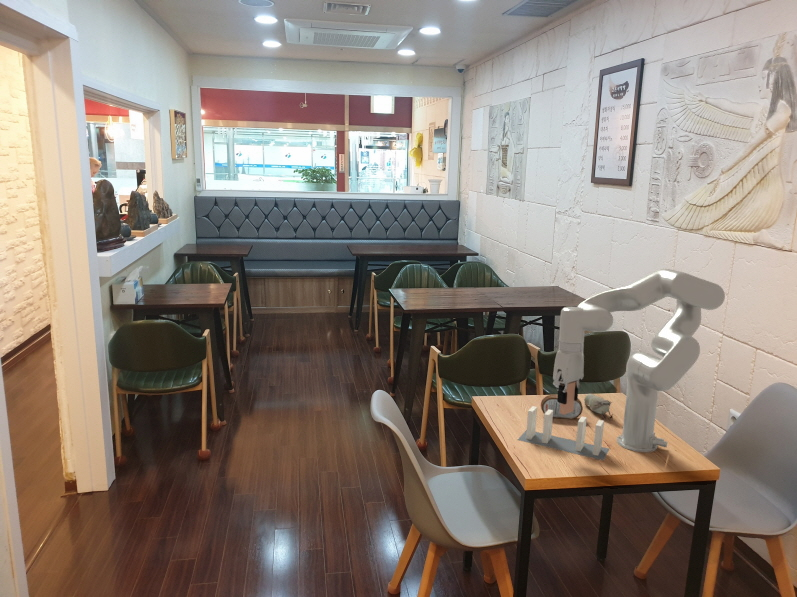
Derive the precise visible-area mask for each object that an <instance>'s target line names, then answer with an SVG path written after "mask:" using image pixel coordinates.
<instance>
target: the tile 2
mask: <svg viewBox="0 0 797 597" xmlns="http://www.w3.org/2000/svg"><path fill="white" fill-rule="evenodd" d="M553 419H554V418H553V410H549V409H548V411H547V412H546V413H545V414H544V413H543V428H542V433H543V437H542V443H546V444H547V443H548V441H549V440H550V439H551V435H552V430H553Z"/></svg>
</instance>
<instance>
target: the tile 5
mask: <svg viewBox="0 0 797 597" xmlns="http://www.w3.org/2000/svg"><path fill="white" fill-rule="evenodd" d="M604 423H605V420H603V419H598V421H597V422H596V424H595V430H594V438H593V445H594V448H593V455H597V456H598V455H599V453H600V451H601V447H603V446H602V445H603V436H604V426H605V424H604Z"/></svg>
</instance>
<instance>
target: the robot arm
mask: <svg viewBox="0 0 797 597" xmlns="http://www.w3.org/2000/svg"><path fill="white" fill-rule="evenodd" d="M667 297H668V298H671V299H672V298H673V299H675V300H676V308H675V311H674V313H673V314H672V315H671V317H670V318H669V319H668V321H667V322H666V323H665V324H664V325H663V326H662V327H661V328H660V330H658V332H657V333H656V334H655V335H654V337H653V338H652V340H651V344H650V347H651V349H652V351H653V352H654V353H656V354H657V356H655V355H653V354H651V353H649V352H644V351H643V352H642V351H639V352H635V353H633V354H632V355H630V356H629V358H628V359H627V362H626V369H625V370H626V371H625V372H626V373H625V374H626V383H627V384H626V385H627V386H626V396H625V404H624V405H625V406H624V416H623V417H624V418H623V428H622V434H620V435H618V436H617V437H616V443H617V444H618V445H619V446H620V447H621V448H624V449H626V450H629V451H633V452H638V453H652V452H655V451H656V450H657V449H658V446H660V447H661V448H662V447H663V448H665V449H666V448H668V441H666V440H665V438H661V437H658V436H656V432H655V431H654V430H655V425H656V424H655V423H656V417H657V416H656V415H657V406H658V398H659V394H658V392H667V391H670V389H672V388H674V386H675V385H677V384H678V382H680V381H681V380H682V378H683V377H684V376H685V375H686V374H687V373H688V372H689V371H690V370H691V368H692V367H693V366H694V365H695V364H696V363H697V361H698V359H699V356H700V353H701V347H700V346H701V345H700V344H699V342H698V340H697V339H696V338H695V337H694V336H693V335H694V334H695V333H696V332H697V330H698V329H699V327H700V325H701V323H702V309H703V310H706V311H713V310H716V309H719V308H720V307H721V306H722V305H723V304H724V302H725V298H726V294H725V291H724V289H723V287H722V286H721V285H719V284H717V283H715V282H711V281H709V280H706V279H703V278H700V277H697V276H694V275H692V274H689V273H687V272H682V271H679V270H676V269H670V268H662V269H659V270H658V269H657V270H656V271H654V272H652V273H650V274H648V275H646V276H645V277H643V278H641V279H638V280H637V281H635V282H632V283H630V284H629V285H627V286H623V287H619V288H615V289H612V290H610V289H609V290H607V291H603V292H601V293H598V294H595V295H593V296H591V297H589V298H587V299H586V300H584V301H582V302H580V303H579V304H578V305H577V306H564V307H563V308H561V310H560V317H559V318H560V320H559V336H558V338H559V339H558V350H557V351H556V355H555V359H554V364H553V366H554V367H553V374H552V375H553V376H552V380H553V382H552V385H553V386H554V387H555V388H556V391H557V395H558V398H557V401H558V402H559V403H562V404H567V392H566V390H567V385H568V383H570V382H573V381H575V382H576V383H575V395H574V400H575V401H576V400H578V399H579V389H580V387H581V386H580V384H581V382H582V380H583V379H584V376H585V374H584V366H585V361H584V360H585V359H584V358H585V355H584V348H585V347H584V346H585V344H584V343H585V332H594V333H602V332H607V331H608V330H610V328H611V327H612V326H613V325H614V316H613V314H612V313H614V312H635V311H641V310H643V309H645V308H648V307H649V306H650V305H653V304H655V303H656V302H659V301H660V300H662V299H664V298H667ZM658 355H659V356H660V357H662V358H659V357H658ZM562 384H564V387H563V386H562Z"/></svg>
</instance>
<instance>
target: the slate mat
mask: <svg viewBox="0 0 797 597" xmlns="http://www.w3.org/2000/svg"><path fill="white" fill-rule="evenodd" d="M526 433H527V429H525V431H524V432H523V433H522V434H521V435H520V436H519V437H518V439H517V441H521V442H525V443H529V444H534V445H537V446H542V447H546V448H548V449H554V450H556V451H557V450H558V451H562V452H567V453H570V454H575V455H579V456H583V457H588V458H592V459H595V460H600V461H605V459H606V457H607V454H608V453H609V451H610V448H608V447H604V446H602V447H601V451H600V453H599V455H598V456H597V455H593V448H594V444H591V443H586V442H584V447H583V448H582V450H581V452H580V451H576V440H573V439H569V438H565V437H561V436H556V435H552V434H551V439H550V440H549V441H548V443H547V444H546V443H542V437H543V432H539V431H535V435H534V437H533V438H532V439H531V440H530V439H526Z"/></svg>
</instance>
